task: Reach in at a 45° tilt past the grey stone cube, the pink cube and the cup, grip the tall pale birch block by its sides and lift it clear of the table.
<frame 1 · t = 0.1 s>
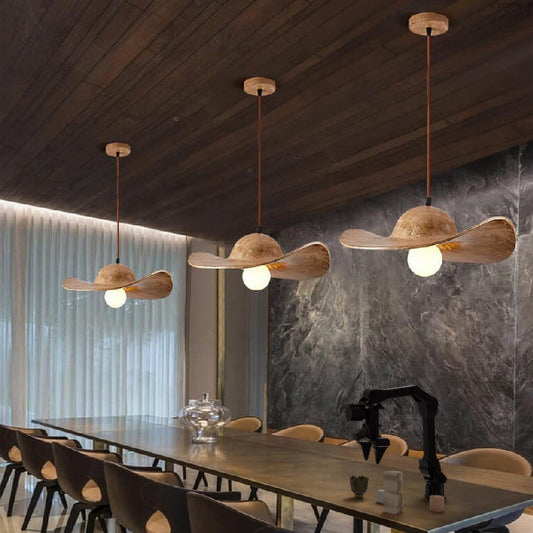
hand: (371, 462, 275), 15 cm above the table, tool pointing down, fingers open, 9 cm apart
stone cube: (385, 502, 272), on the table
cup: (359, 498, 279), on the table
pink cube: (437, 510, 260), on the table
birch block: (393, 511, 256), on the table
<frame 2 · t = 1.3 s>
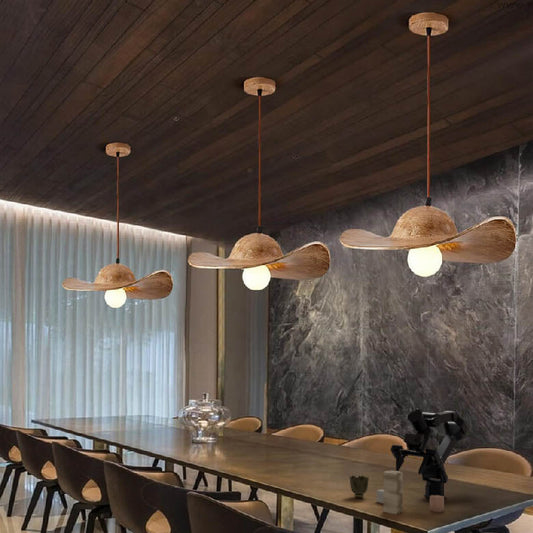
hand: (407, 472, 266), 13 cm above the table, tool tilted 45°, fingers open, 9 cm apart
nothing on the table moved.
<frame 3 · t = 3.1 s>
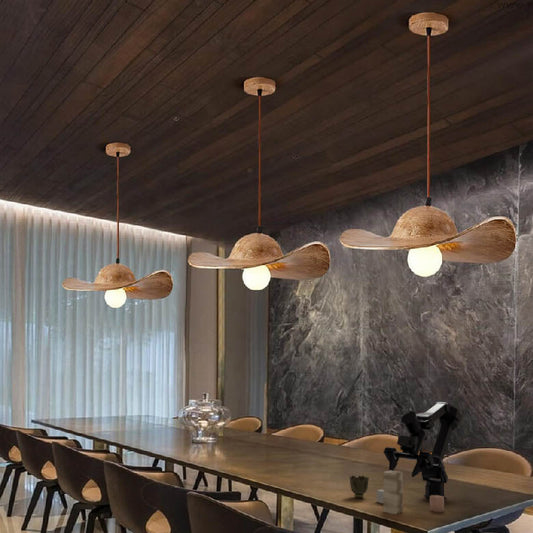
hand: (400, 474, 262), 12 cm above the table, tool tilted 45°, fingers open, 9 cm apart
nothing on the table moved.
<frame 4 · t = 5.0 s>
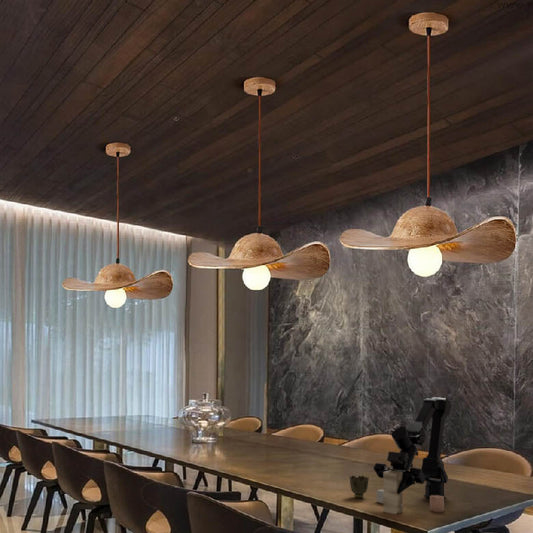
hand: (391, 492, 256), 7 cm above the table, tool tilted 45°, fingers closed on birch block, 5 cm apart
birch block: (393, 511, 256), on the table, touching gripper
everything else where it was.
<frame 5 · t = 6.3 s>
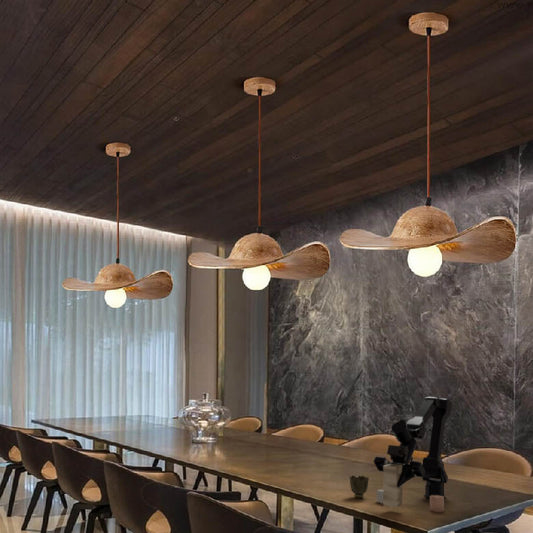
hand: (391, 485, 256), 9 cm above the table, tool tilted 45°, fingers closed on birch block, 5 cm apart
birch block: (392, 505, 256), point 2 cm above the table, touching gripper
everything else where it was.
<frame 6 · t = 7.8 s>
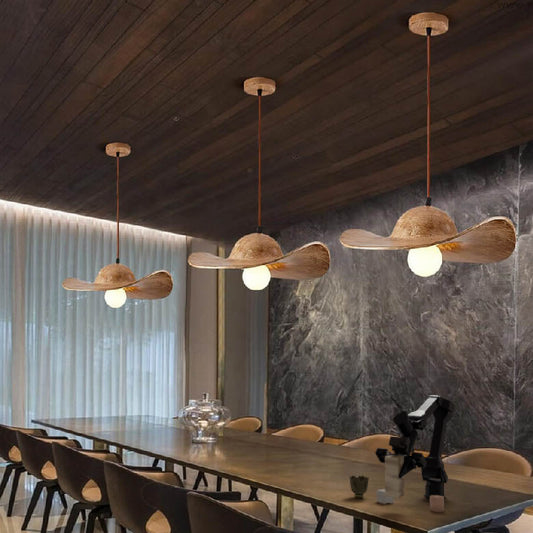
hand: (392, 476, 257), 12 cm above the table, tool tilted 45°, fingers closed on birch block, 5 cm apart
birch block: (394, 495, 257), point 5 cm above the table, touching gripper
everything else where it was.
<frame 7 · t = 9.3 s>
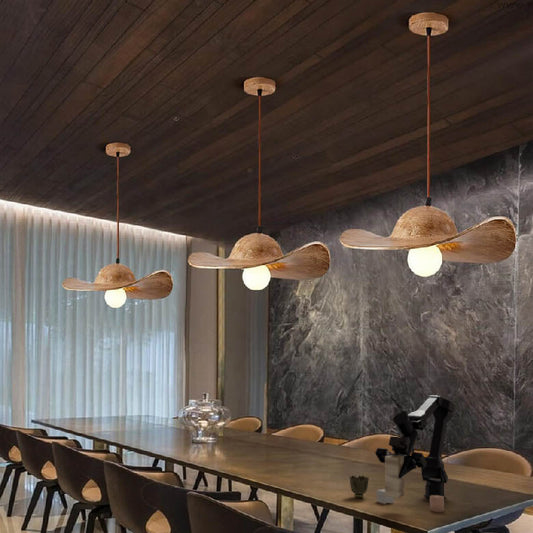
hand: (392, 476, 257), 12 cm above the table, tool tilted 45°, fingers closed on birch block, 5 cm apart
birch block: (394, 495, 257), point 5 cm above the table, touching gripper
everything else where it was.
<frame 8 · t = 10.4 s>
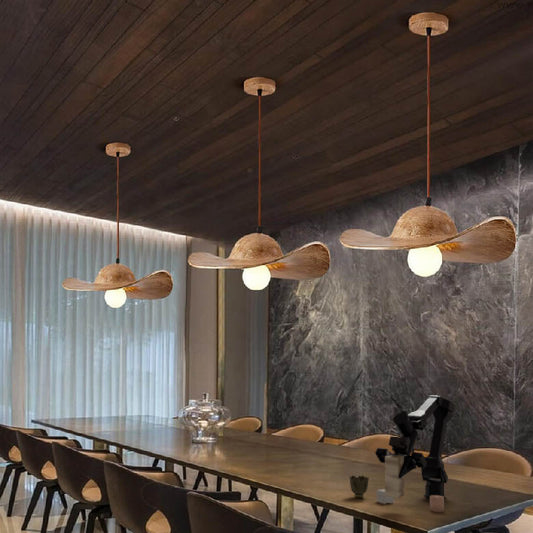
hand: (392, 476, 257), 12 cm above the table, tool tilted 45°, fingers closed on birch block, 5 cm apart
birch block: (394, 495, 257), point 5 cm above the table, touching gripper
everything else where it was.
at the end: the gripper is holding birch block; birch block point 5.4 cm above the table; birch block tilted 1° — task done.
